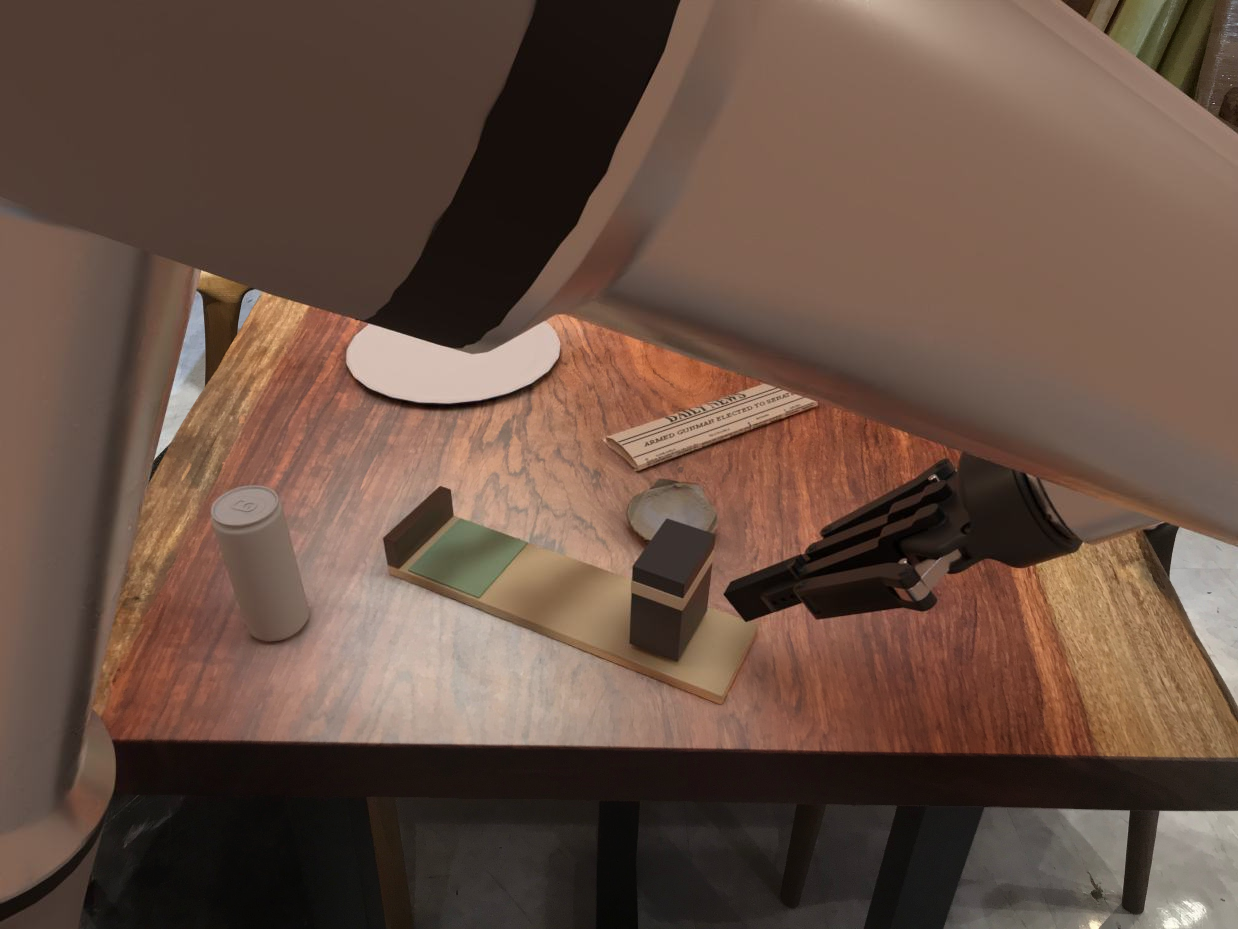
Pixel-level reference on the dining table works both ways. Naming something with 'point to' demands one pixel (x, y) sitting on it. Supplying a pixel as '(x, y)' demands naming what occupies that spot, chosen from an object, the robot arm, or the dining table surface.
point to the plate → (448, 366)
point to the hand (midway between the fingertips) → (738, 601)
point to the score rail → (555, 596)
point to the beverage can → (260, 561)
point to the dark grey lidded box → (671, 588)
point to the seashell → (671, 508)
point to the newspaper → (705, 425)
